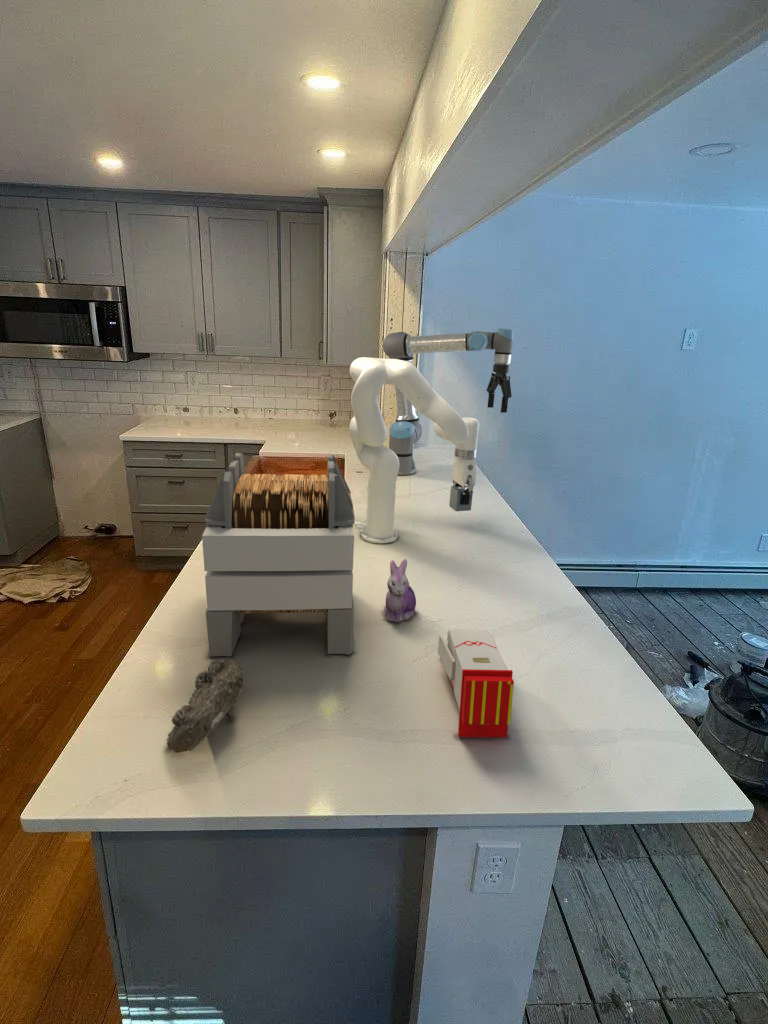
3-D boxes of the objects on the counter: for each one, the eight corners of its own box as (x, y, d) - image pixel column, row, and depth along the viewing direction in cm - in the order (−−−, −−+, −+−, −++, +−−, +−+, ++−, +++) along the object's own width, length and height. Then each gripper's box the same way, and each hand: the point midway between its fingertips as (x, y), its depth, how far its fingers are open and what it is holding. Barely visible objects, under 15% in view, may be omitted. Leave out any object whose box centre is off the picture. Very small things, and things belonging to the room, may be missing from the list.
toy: (488, 613, 130) (523, 677, 101) (484, 667, 133) (517, 744, 104) (435, 612, 130) (455, 676, 101) (432, 666, 133) (451, 743, 103)
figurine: (392, 627, 141) (395, 572, 136) (374, 608, 149) (376, 556, 144) (425, 619, 145) (429, 566, 140) (405, 601, 154) (408, 550, 149)
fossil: (192, 660, 117) (244, 628, 112) (224, 691, 120) (276, 661, 115) (142, 746, 98) (202, 712, 93) (182, 779, 101) (242, 748, 96)
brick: (470, 510, 205) (473, 490, 203) (455, 511, 204) (457, 491, 201) (463, 505, 211) (466, 485, 208) (449, 506, 209) (451, 486, 206)
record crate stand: (228, 587, 157) (220, 443, 143) (347, 586, 161) (350, 445, 147) (206, 659, 125) (193, 482, 111) (354, 655, 129) (359, 484, 115)
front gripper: (486, 459, 194) (480, 508, 200) (464, 447, 209) (459, 493, 215) (466, 459, 191) (461, 510, 197) (445, 447, 207) (441, 494, 213)
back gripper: (522, 366, 250) (517, 414, 257) (496, 361, 272) (491, 405, 280) (507, 366, 248) (502, 414, 255) (482, 360, 270) (478, 405, 278)
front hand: (460, 501), depth 206 cm, fingers closed on brick, 5 cm apart
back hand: (496, 410), depth 267 cm, fingers open, 13 cm apart
